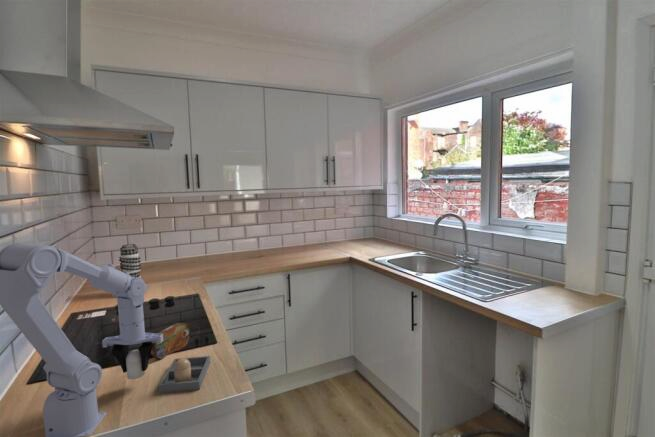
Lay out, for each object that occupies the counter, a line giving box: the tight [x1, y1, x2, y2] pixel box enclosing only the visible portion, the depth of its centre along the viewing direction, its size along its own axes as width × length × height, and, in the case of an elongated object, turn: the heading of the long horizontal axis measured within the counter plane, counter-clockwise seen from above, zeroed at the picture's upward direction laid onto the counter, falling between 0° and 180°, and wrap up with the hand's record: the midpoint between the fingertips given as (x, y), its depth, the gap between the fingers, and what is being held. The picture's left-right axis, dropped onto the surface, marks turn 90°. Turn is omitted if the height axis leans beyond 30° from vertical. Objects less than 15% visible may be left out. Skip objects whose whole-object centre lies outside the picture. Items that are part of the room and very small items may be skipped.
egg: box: [126, 349, 146, 380], centre depth 95 cm, size 4×4×7 cm
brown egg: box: [174, 357, 192, 383], centre depth 96 cm, size 4×4×7 cm
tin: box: [150, 322, 192, 360], centre depth 115 cm, size 15×3×8 cm, turn 158°
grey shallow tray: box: [158, 355, 211, 394], centre depth 100 cm, size 10×14×3 cm
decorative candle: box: [118, 243, 142, 279], centre depth 175 cm, size 9×9×25 cm
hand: (135, 369), depth 95 cm, fingers closed on egg, 4 cm apart
